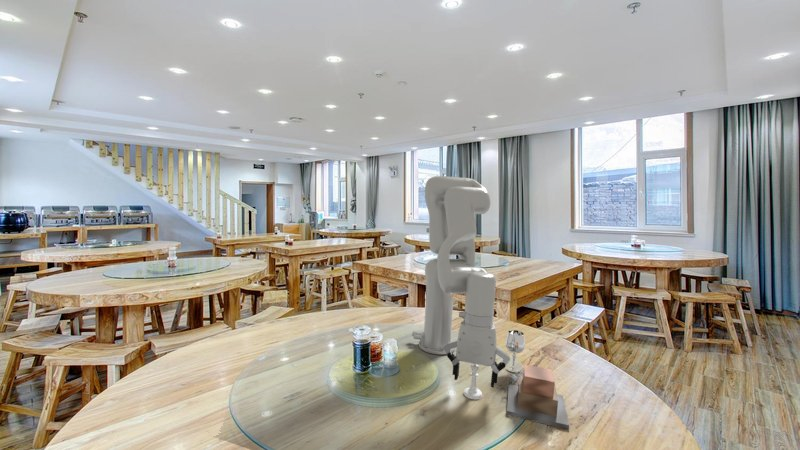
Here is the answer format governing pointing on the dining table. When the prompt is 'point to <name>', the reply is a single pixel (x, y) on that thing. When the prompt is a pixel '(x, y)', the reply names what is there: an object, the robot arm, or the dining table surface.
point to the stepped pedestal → (537, 398)
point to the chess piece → (473, 385)
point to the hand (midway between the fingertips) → (474, 381)
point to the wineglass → (515, 343)
